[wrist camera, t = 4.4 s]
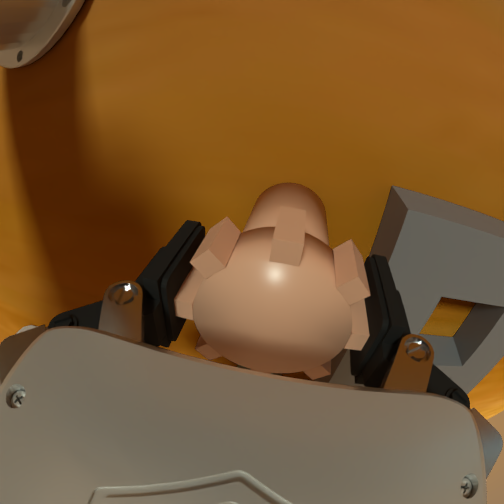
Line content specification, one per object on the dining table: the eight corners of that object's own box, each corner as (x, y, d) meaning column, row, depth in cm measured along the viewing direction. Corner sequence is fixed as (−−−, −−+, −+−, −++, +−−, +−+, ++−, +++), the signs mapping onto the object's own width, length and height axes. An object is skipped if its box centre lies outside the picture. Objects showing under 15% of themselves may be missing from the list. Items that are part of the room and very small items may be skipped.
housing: (392, 185, 13) (408, 209, 11) (544, 239, 12) (565, 262, 10) (304, 400, 26) (301, 425, 23) (422, 407, 24) (425, 429, 22)
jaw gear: (234, 150, 14) (165, 219, 8) (362, 172, 14) (407, 264, 7) (227, 256, 18) (181, 361, 11) (333, 275, 17) (336, 391, 11)
